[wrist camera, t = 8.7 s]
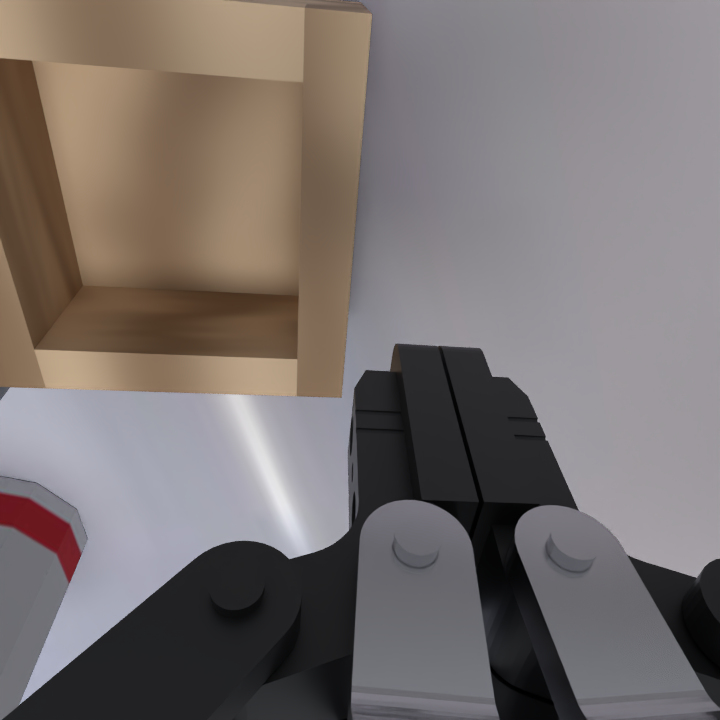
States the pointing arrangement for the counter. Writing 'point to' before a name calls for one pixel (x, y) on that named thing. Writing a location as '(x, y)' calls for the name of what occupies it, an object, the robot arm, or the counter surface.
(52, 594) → the spray bottle
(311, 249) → the wooden box
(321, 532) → the counter surface
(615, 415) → the counter surface
